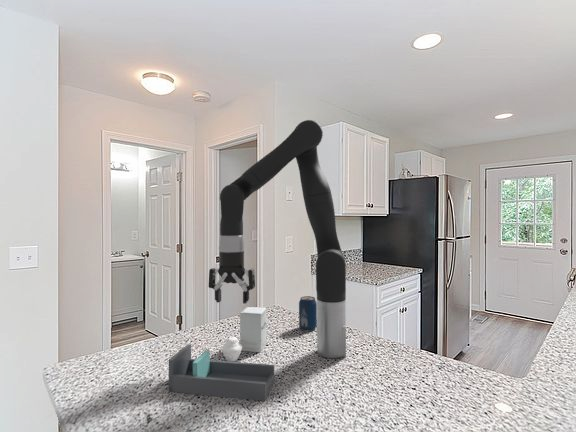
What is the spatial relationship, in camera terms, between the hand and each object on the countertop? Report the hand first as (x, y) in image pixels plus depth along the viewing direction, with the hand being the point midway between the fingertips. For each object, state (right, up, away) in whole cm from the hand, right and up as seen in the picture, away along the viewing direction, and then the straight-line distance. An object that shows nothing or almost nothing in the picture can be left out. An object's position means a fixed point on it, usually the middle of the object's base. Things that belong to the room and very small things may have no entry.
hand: (231, 302), depth 99 cm
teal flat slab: (-5, -16, -14) cm, 22 cm away
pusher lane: (0, -18, -15) cm, 23 cm away
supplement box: (+6, -18, +9) cm, 21 cm away
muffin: (0, -18, 0) cm, 18 cm away
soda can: (+25, -18, +27) cm, 41 cm away
